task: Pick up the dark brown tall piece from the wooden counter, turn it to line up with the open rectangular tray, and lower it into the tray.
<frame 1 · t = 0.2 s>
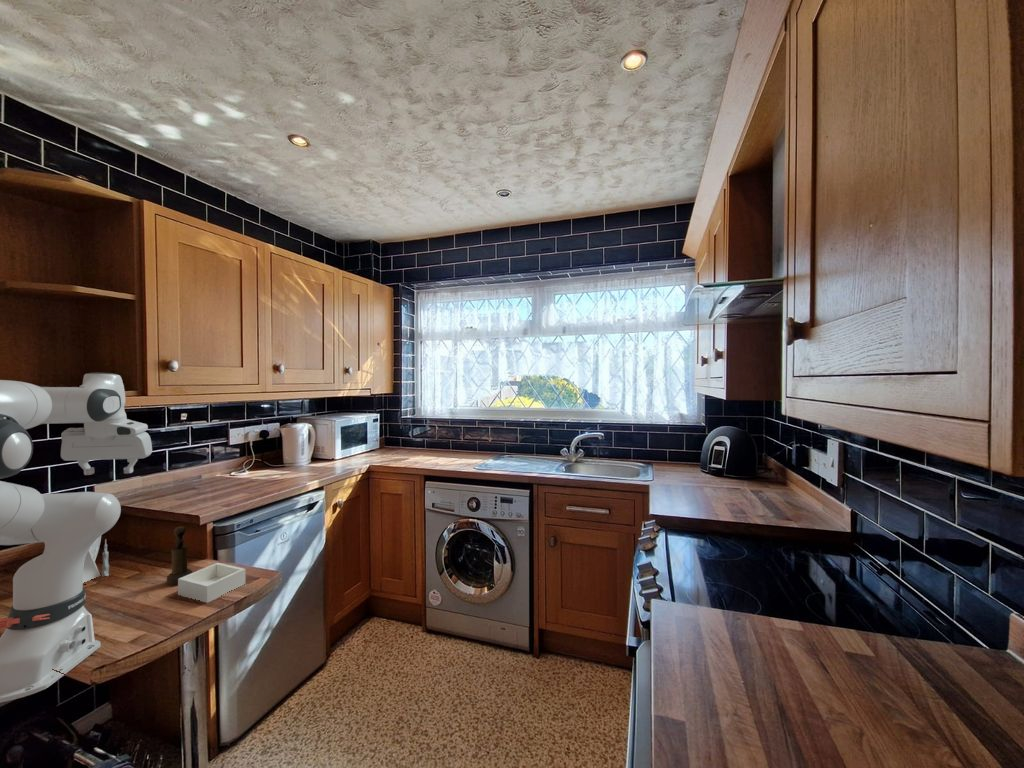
hand: (109, 473, 119), 39 cm above the table, tool pointing down, fingers open, 8 cm apart
skyscraper: (86, 581, 134), on the table
open rectangular tray: (212, 589, 129), on the table
dark brown tall piece: (179, 581, 134), on the table
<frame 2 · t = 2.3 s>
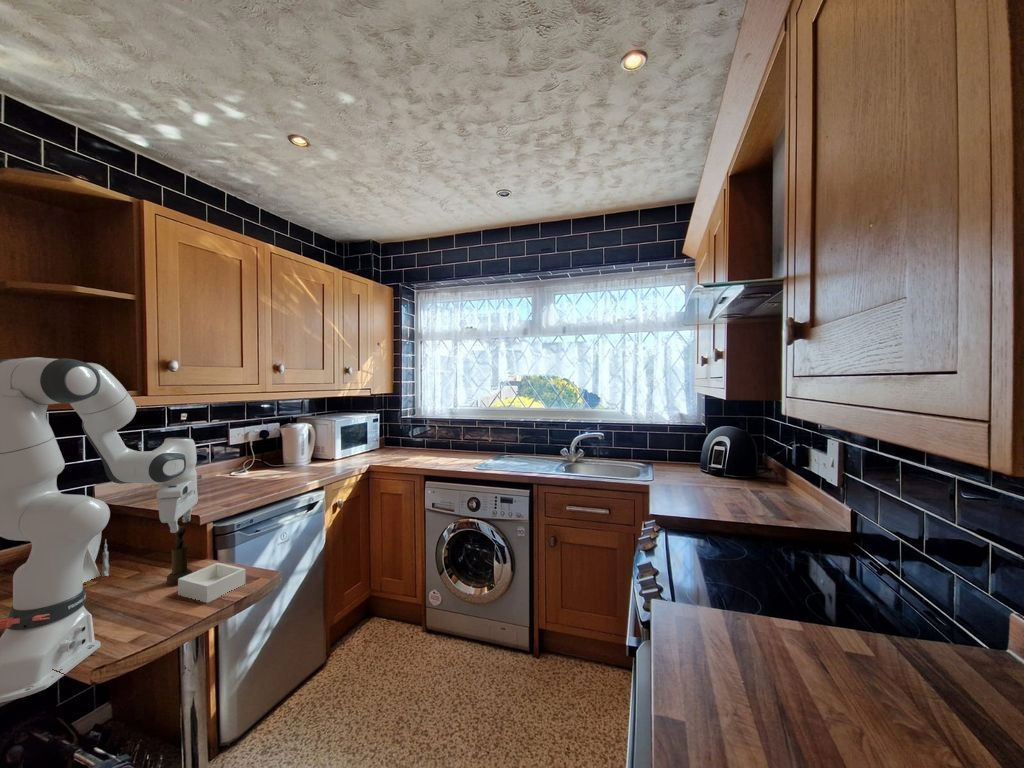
hand: (180, 526, 134), 18 cm above the table, tool pointing down, fingers open, 8 cm apart
nothing on the table moved.
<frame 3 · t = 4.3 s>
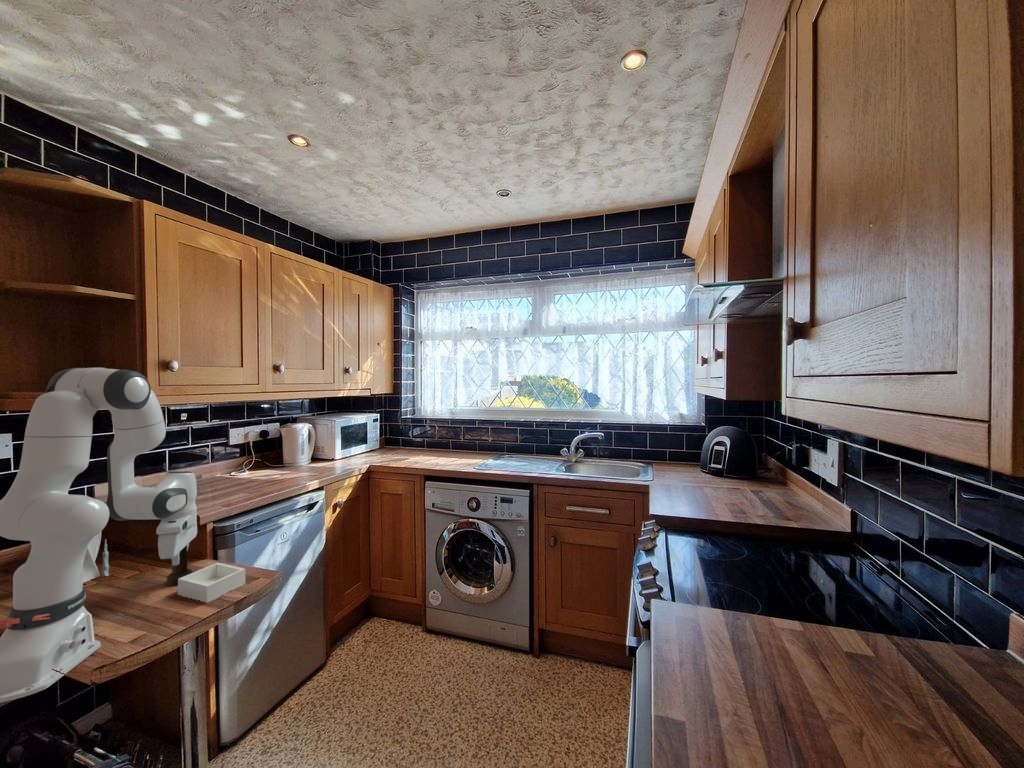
hand: (179, 561, 134), 7 cm above the table, tool pointing down, fingers closed on dark brown tall piece, 4 cm apart
dark brown tall piece: (179, 581, 134), on the table, touching gripper
everything else where it was.
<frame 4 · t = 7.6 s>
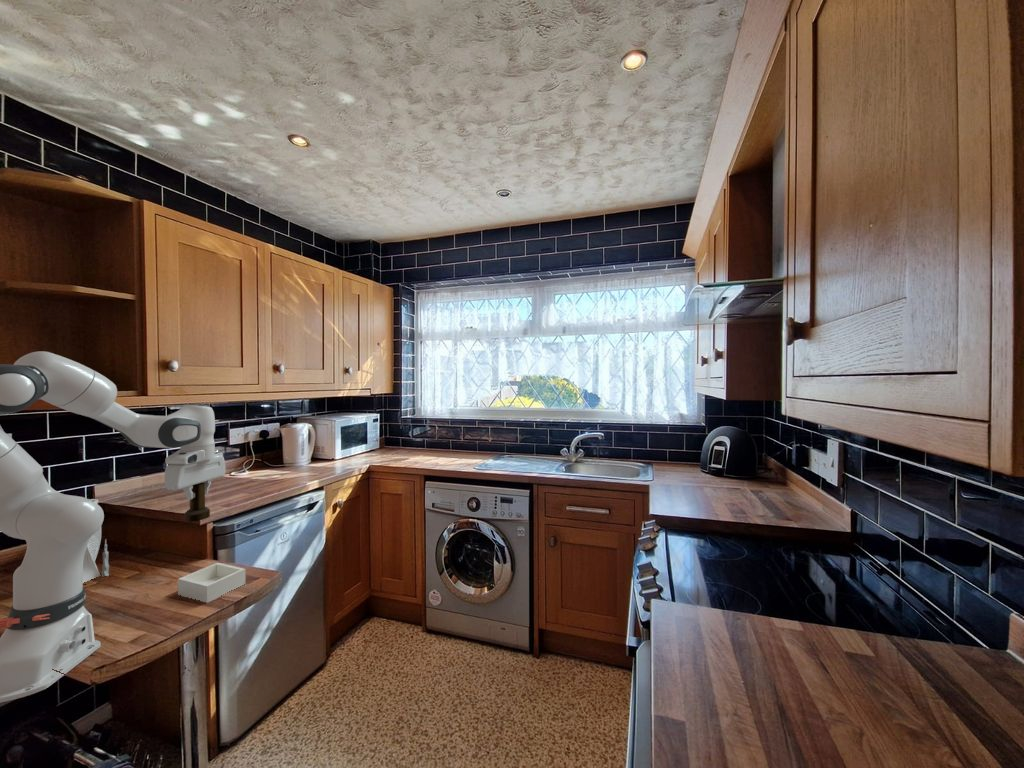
hand: (197, 496, 131), 29 cm above the table, tool pointing down, fingers closed on dark brown tall piece, 4 cm apart
dark brown tall piece: (197, 518, 131), point 22 cm above the table, touching gripper
everything else where it was.
when the fingers open (9 cm above the table, at t = 11.2 s): dark brown tall piece stays where it is, resting on open rectangular tray.
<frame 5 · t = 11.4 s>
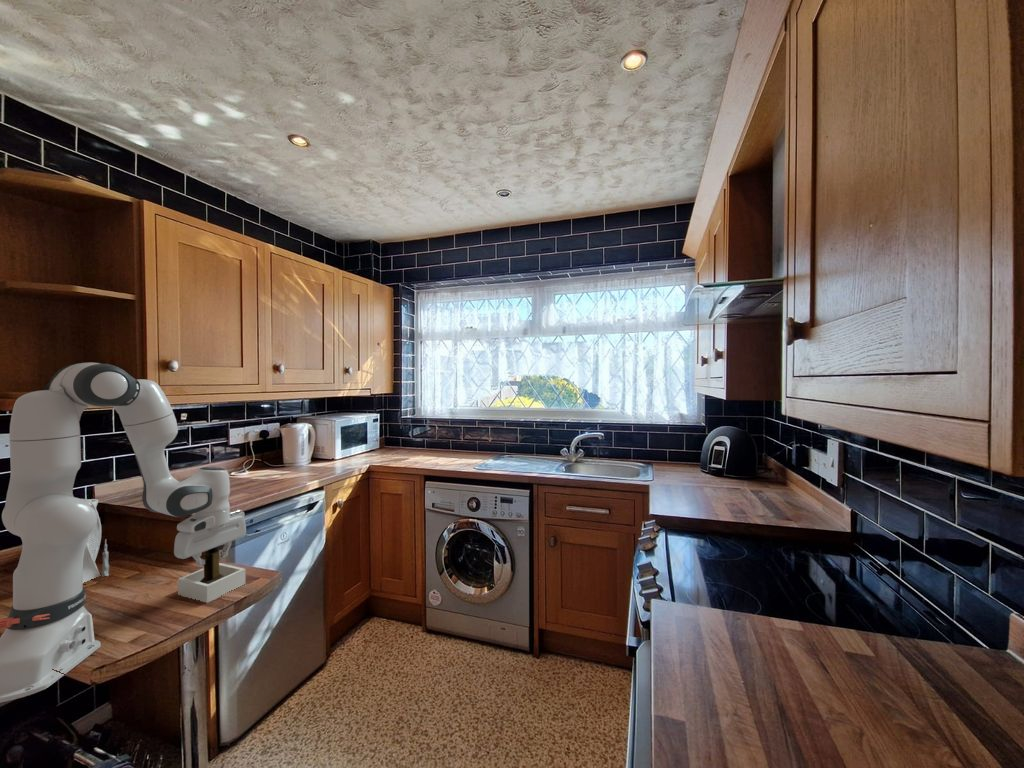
hand: (212, 561, 129), 9 cm above the table, tool pointing down, fingers open, 6 cm apart
dark brown tall piece: (211, 587, 129), point 1 cm above the table, touching open rectangular tray
everything else where it was.
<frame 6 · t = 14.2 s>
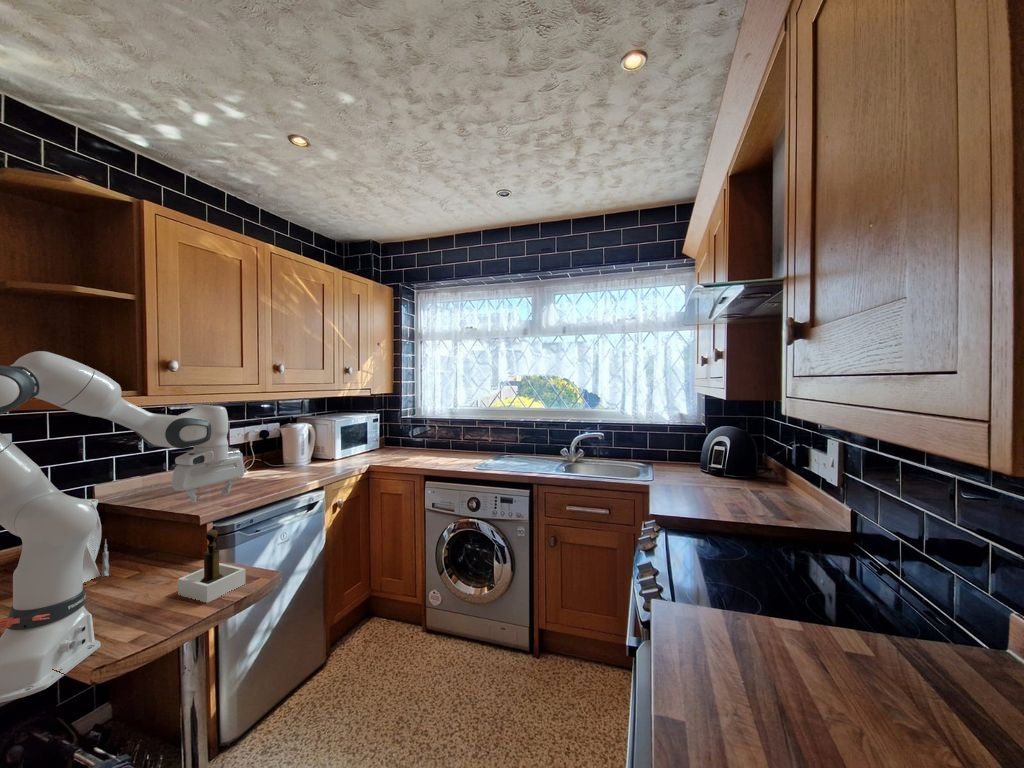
hand: (210, 498, 129), 29 cm above the table, tool pointing down, fingers open, 8 cm apart
nothing on the table moved.
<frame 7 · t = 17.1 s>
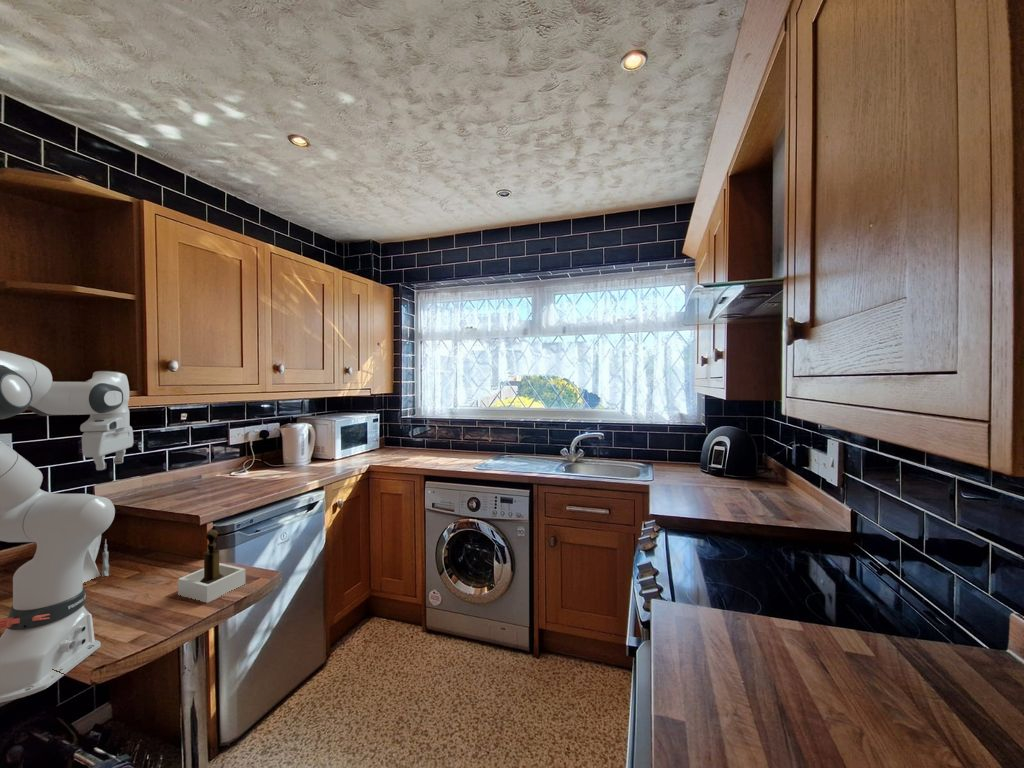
hand: (110, 466, 127), 39 cm above the table, tool pointing down, fingers open, 8 cm apart
nothing on the table moved.
at the end: dark brown tall piece 0.3 cm off-centre on the open rectangular tray, point 0.8 cm above the open rectangular tray's base; dark brown tall piece tilted 0°; the gripper is holding nothing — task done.
